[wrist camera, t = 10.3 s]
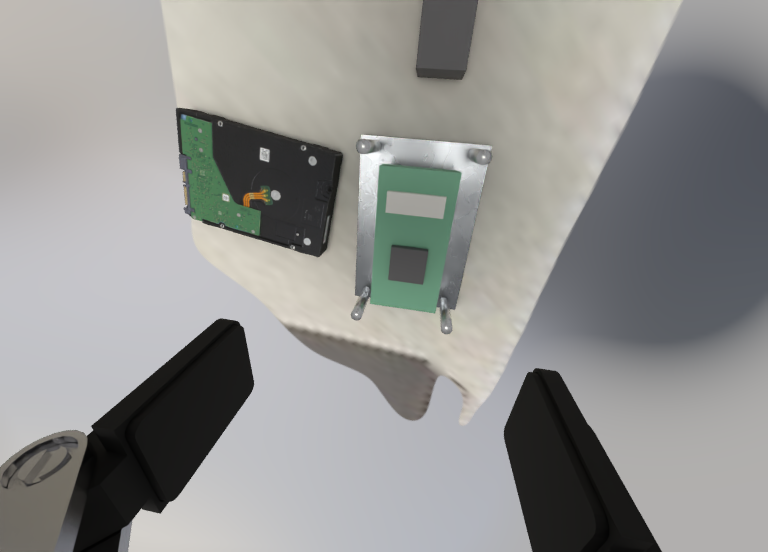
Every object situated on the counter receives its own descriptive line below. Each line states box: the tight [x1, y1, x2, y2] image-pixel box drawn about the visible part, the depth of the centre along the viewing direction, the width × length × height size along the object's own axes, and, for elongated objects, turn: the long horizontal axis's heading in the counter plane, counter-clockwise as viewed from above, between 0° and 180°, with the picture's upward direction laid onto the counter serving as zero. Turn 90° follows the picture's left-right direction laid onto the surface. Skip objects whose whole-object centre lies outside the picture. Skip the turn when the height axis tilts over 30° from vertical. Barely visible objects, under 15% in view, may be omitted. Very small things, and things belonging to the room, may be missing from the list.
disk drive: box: [176, 108, 343, 257], centre depth 27 cm, size 10×3×15 cm
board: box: [370, 164, 462, 313], centre depth 23 cm, size 12×6×3 cm, turn 175°
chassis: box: [351, 135, 492, 334], centre depth 25 cm, size 16×11×6 cm
